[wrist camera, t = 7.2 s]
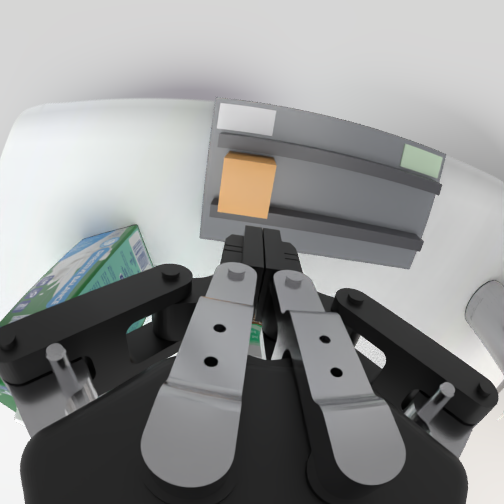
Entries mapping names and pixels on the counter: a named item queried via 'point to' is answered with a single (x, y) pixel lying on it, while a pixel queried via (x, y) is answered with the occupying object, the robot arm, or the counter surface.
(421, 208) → the switch plate
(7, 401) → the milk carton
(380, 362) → the counter surface
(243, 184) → the switch knob
